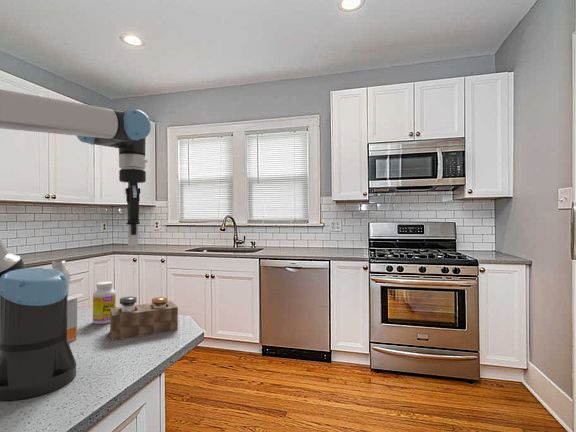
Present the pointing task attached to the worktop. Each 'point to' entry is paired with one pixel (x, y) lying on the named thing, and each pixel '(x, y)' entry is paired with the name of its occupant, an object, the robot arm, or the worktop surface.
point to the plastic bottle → (62, 270)
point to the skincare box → (71, 318)
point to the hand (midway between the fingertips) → (133, 245)
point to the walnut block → (143, 320)
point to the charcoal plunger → (128, 304)
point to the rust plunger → (159, 302)
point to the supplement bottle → (103, 302)
